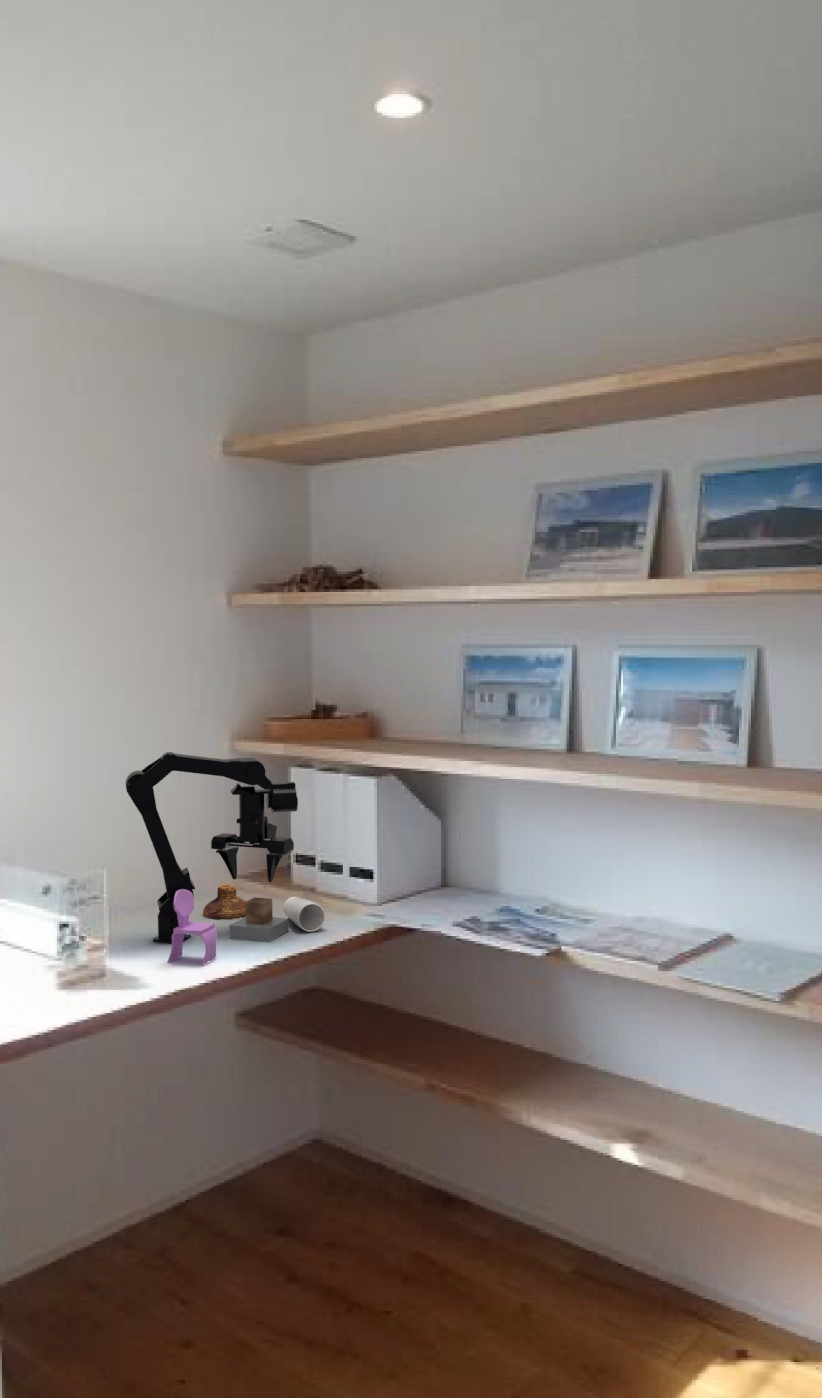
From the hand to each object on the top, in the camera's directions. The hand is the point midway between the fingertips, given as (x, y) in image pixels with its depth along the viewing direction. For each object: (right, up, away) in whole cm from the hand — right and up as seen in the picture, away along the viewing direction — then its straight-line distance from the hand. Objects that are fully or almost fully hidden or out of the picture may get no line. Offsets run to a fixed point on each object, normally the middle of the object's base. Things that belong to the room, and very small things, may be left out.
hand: (252, 880), depth 269 cm
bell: (-9, -12, +20) cm, 25 cm away
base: (+2, -12, 0) cm, 12 cm away
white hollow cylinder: (+8, -9, +15) cm, 19 cm away
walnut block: (+2, -9, 0) cm, 9 cm away
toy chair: (-10, -14, -21) cm, 27 cm away
